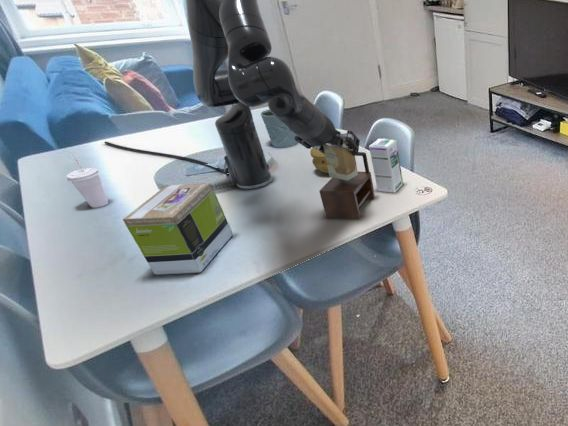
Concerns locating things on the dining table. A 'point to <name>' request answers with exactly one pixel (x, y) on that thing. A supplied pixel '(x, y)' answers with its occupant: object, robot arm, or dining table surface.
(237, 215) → the dining table surface
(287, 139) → the blue-grey planter
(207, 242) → the tea box
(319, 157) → the pot
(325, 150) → the cosmetic box
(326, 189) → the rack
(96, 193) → the smoothie
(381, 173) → the syrup box
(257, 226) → the dining table surface
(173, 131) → the dining table surface
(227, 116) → the robot arm
